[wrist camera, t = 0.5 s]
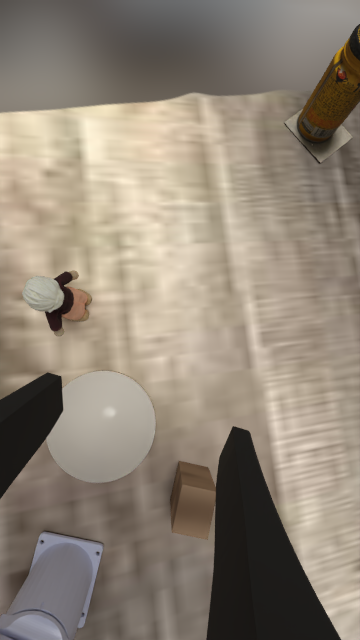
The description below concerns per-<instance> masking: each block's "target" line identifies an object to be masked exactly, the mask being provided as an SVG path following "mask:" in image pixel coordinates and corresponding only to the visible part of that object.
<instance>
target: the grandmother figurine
mask: <svg viewBox="0 0 360 640" xmlns="http://www.w3.org/2000/svg"><path fill="white" fill-rule="evenodd" d="M78 276H79V275H78V273H77V272H76V271H71V272H64V273H62V274H61V275H59V276H58V277H56V278H55V279H51V278H48V277H44V276H35V277H32V278H31V279H30V280H28V281H27V283H26V285H25V288H24V290H23V292H22V294H23V298H24V300H25V301H26V302H27V303H28V304H29V306H30V307H31V308H33V309H35V310H38V311H45V313H46V317H47V320H48V323H49V325H50V328H51V330H52V331H54V334H55V335H56V336H62V335H63V334H64V329H63V328H62V317H64V318H67V319H70V320H72V321H85V320H87V319H88V317H89V312H88V310H86V309H85V305H89V304H90V303H91V300H92V297H91V296H90V295H89V294H88V293H86V292H85V291H83V290H81V289H75V288H71V287H65V286H64V285H66V284H67V283H69V282H70V281H72V280H75V279H77V278H78Z"/></svg>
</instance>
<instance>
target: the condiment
mask: <svg viewBox="0 0 360 640" xmlns="http://www.w3.org/2000/svg"><path fill="white" fill-rule="evenodd" d="M359 102H360V24H359V25H358V26H357V27H356V28H355V29H354V31H353V33H352V34H351V36H350V38H349V39H348V40H347V42H346V43H345V45H344V46H343V47H342V48H341V49H340V50H339V51H338V52H337V53H336V54H335V56H334V57H333V59H332V61H331V63H330V65H329V66H328V68H327V70H326V72H325V73H324V75H323V77H322V78H321V80H320V82H319V83H318V85H317V86H316V88H315V90H314V91H313V93H312V95H311V97H310V98H309V100H308V101H307V103H306V105H305V106H304V108H303V109H302V110H301V111H299V112H298V113H297V114H295V115H294V116H292V117H291V118H290V119H288V120H287V121H286V122H284V123H285V124H286V125H287V126H288V127H289V129H290V130H291V131H292V132H293V133H294V134H295V136H296V137H297V138H298V139H299V140H300V141H301V142H302V143H303V144H304V145H305V146H306V147H307V149H308V150H309V151H310V152H311V153H312V154H313V155H314V156H315V157H316V158H317V159H318V161H319V162H320V163H321V162H322V161H324V160H325V159H326V158H328V157H329V156H330V155H332V154H333V153H334V152H335V151H336V150H338V149H339V148H340V147H341V146H343V145H344V144H345V143H347V142H348V141H349V140H350V139H351V138H353V137H352V136H351V135H350V133H349V132H347V131H346V129H345V128H344V127H343V126H342V125H341V124H342V123H343V122H344V120H345V119H346V118H347V117H348V115H349V114H350V113H351V111H352V110H353V109H354V108H355V107H356V105H357V104H358V103H359ZM333 134H334V135H333ZM333 136H335V137H333ZM312 144H313V145H312Z"/></svg>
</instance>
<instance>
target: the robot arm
mask: <svg viewBox="0 0 360 640" xmlns="http://www.w3.org/2000/svg"><path fill="white" fill-rule="evenodd" d="M62 412H63V395H62V379H61V376H58V375H55V374H51V373H46V374H44V375H42V376H41V377H39V378H37V379H35V380H34V381H32V382H30V383H29V384H27V385H25V386H23V387H22V388H20V389H18V390H17V391H15V392H13V393H11V394H10V395H8V396H6V397H4V398H3V399H1V400H0V499H1V497H2V496H3V494H4V493H5V492H6V490H7V489H8V487H9V486H10V485H11V483H12V482H13V481H14V480H15V478H16V477H17V476H18V474H19V473H20V472H21V470H22V469H23V468H24V467H25V465H26V464H27V463H28V461H29V460H30V459H31V457H32V456H33V455H34V454H35V452H36V451H37V450H38V448H39V447H40V446H41V444H42V443H43V442H44V440H45V439H46V438H47V436H48V435H49V434H50V432H51V430H52V429H53V427H54V426H55V424H56V422H57V421H58V419H59V417H60V415H61V414H62ZM41 540H43V541H44V542H42V541H41ZM97 551H99V552H100V553H97ZM102 551H103V544H102V543H98V542H94V541H89V540H84V539H79V538H74V537H69V536H64V535H59V534H54V533H49V532H42V533H41V534H40V536H39V539H38V543H37V546H36V550H35V554H34V557H33V561H32V565H31V568H30V572H29V575H28V577H27V578H26V580H25V582H24V584H23V585H22V587H21V589H20V590H19V592H18V594H17V596H16V597H15V599H14V601H13V602H12V604H11V606H10V607H9V609H8V611H7V613H6V614H2V615H1V617H0V640H74V637H75V634H76V631H77V628H82V627H83V626H84V624H85V620H86V616H87V612H88V608H89V604H90V600H91V596H92V592H93V588H94V584H95V580H96V575H97V571H98V567H99V563H100V559H101V555H102ZM82 613H84V614H82ZM206 640H341V639H340V637H339V635H338V633H337V631H336V630H335V628H334V626H333V624H332V622H331V621H330V619H329V617H328V615H327V613H326V612H325V610H324V608H323V606H322V604H321V603H320V601H319V599H318V597H317V595H316V593H315V591H314V589H313V588H312V586H311V584H310V582H309V580H308V578H307V576H306V574H305V572H304V570H303V568H302V566H301V564H300V562H299V560H298V557H297V555H296V553H295V551H294V549H293V547H292V545H291V543H290V540H289V538H288V536H287V534H286V532H285V529H284V527H283V525H282V522H281V520H280V517H279V515H278V513H277V510H276V508H275V505H274V503H273V500H272V498H271V495H270V492H269V490H268V487H267V484H266V482H265V479H264V476H263V473H262V470H261V467H260V464H259V461H258V458H257V455H256V452H255V449H254V445H253V442H252V438H251V434H250V432H249V431H248V430H244V429H241V428H237V427H234V426H233V427H232V430H231V432H230V434H229V437H228V439H227V441H226V444H225V446H224V448H223V450H222V453H221V455H220V458H219V465H218V473H217V482H216V508H215V553H214V572H213V582H212V592H211V602H210V612H209V621H208V630H207V639H206Z"/></svg>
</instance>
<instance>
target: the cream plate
mask: <svg viewBox="0 0 360 640" xmlns="http://www.w3.org/2000/svg"><path fill="white" fill-rule="evenodd" d="M62 395H63V412H62V414H61V415H60V417H59V419H58V421H57V422H56V424H55V426H54V427H53V429H52V430H51V432H50V434H49V435H48V436H47V438H46V440H47V445H48V448H49V451H50V453H51V455H52V457H53V458H54V460H55V461H56V463H57V464H58V465H59V466H60V467H61V468H62V469H63V470H64V471H65V472H66V473H68V474H69V475H71V476H72V477H74V478H77V479H79V480H82V481H85V482H91V483H105V482H110V481H114V480H117V479H120V478H122V477H124V476H126V475H127V474H129V473H130V472H132V471H133V470H134V469H136V468H137V467H138V466H139V465H140V464H141V462H142V461H143V460H144V459H145V457H146V455H147V454H148V452H149V450H150V448H151V446H152V443H153V439H154V435H155V428H156V418H155V411H154V407H153V404H152V401H151V399H150V397H149V395H148V394H147V393H146V391H145V390H144V388H143V387H142V386H141V385H140V384H139V383H137V382H136V381H135V380H134V379H132V378H130V377H129V376H127V375H124V374H122V373H119V372H115V371H104V370H102V371H94V372H90V373H87V374H84V375H81V376H79V377H77V378H75V379H74V380H72V381H71V382H69V383H68V384H67V385H66V386H65V387H63V388H62Z"/></svg>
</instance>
